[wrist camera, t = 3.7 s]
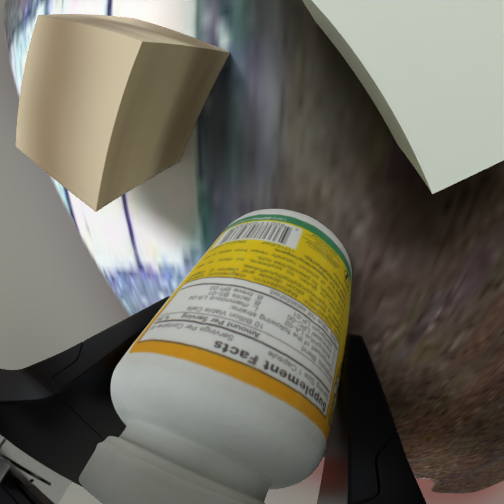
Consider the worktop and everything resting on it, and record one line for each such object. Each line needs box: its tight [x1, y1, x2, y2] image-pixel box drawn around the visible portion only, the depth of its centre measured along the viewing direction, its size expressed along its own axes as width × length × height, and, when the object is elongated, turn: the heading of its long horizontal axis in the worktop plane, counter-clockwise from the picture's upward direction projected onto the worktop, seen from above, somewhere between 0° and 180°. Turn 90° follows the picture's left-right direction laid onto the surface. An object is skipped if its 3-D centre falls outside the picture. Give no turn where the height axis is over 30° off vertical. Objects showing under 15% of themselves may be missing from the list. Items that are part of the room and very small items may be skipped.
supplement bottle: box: [79, 209, 352, 504], centre depth 7 cm, size 5×5×10 cm
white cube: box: [302, 0, 504, 194], centre depth 5 cm, size 5×5×5 cm
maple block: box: [16, 14, 230, 211], centre depth 8 cm, size 5×5×5 cm
